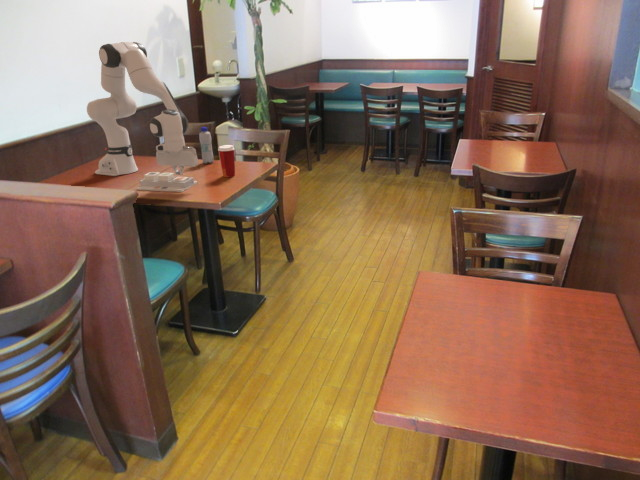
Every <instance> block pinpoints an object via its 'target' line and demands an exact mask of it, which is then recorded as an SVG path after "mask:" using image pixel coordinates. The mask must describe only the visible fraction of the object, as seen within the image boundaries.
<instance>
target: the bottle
mask: <svg viewBox="0 0 640 480" xmlns="http://www.w3.org/2000/svg"><path fill="white" fill-rule="evenodd" d="M200 131H201V132H199V134H198V137H199V139H198V140H199V144H200V150H201V159H202V162H203V164H211V163H213V162H214V153H213V146H212V136H211V132H210V131H208V128H207V127H206V126H201V128H200Z"/></svg>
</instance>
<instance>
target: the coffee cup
mask: <svg viewBox="0 0 640 480" xmlns="http://www.w3.org/2000/svg"><path fill="white" fill-rule="evenodd" d="M235 149H236V148H234V145H232V144H224V145H220V146H218V149H217V151H218V153H219V160H220V165H221V170H222V171H221V172H222V177H224V178H233V177H235V176H236V164H235V162H236V161H235Z"/></svg>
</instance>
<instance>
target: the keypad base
mask: <svg viewBox="0 0 640 480" xmlns="http://www.w3.org/2000/svg"><path fill="white" fill-rule="evenodd" d="M177 177H178V176H175V178H177ZM197 184H198V180H195V178H194V177H189V180H187V181H185V182H173V181H172V180H171V181H169V182H166V181H159V180H156V181H145V178H143V179H140V180H139V185H140V186H138V187H136V190H137V191H154V192H155V191H157V192H174V193H175V192H176V193H183V192H184V191H187V190H188V189H190V188H192V187H193V186H195V185H197Z"/></svg>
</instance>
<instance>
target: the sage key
mask: <svg viewBox="0 0 640 480" xmlns="http://www.w3.org/2000/svg"><path fill="white" fill-rule="evenodd" d="M175 177H176V175H175V172H162V173H161V174H160V175H158V180H159V181H166V182H169V181H171V180H173V179H175Z"/></svg>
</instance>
